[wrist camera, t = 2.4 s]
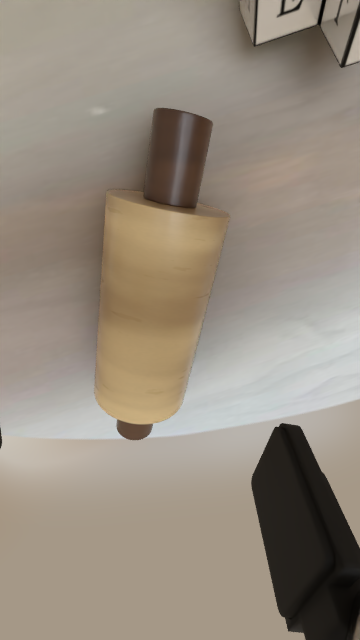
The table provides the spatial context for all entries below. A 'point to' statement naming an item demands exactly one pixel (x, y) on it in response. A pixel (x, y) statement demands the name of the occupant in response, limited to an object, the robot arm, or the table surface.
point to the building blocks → (306, 23)
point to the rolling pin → (156, 278)
